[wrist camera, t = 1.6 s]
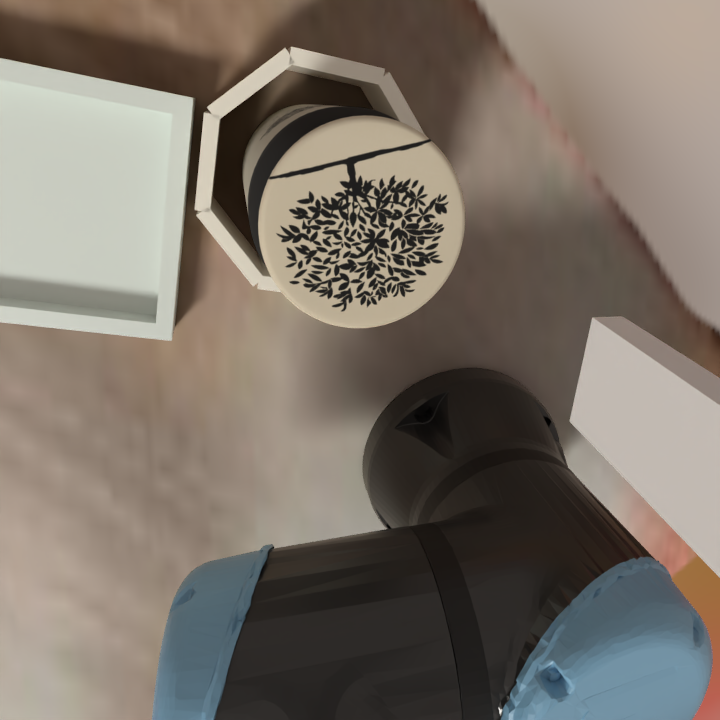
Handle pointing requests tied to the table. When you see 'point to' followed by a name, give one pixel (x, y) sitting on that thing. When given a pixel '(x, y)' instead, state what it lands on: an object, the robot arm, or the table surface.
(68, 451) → the table surface
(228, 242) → the holder
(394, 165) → the travel mug
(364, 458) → the robot arm
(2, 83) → the tray
